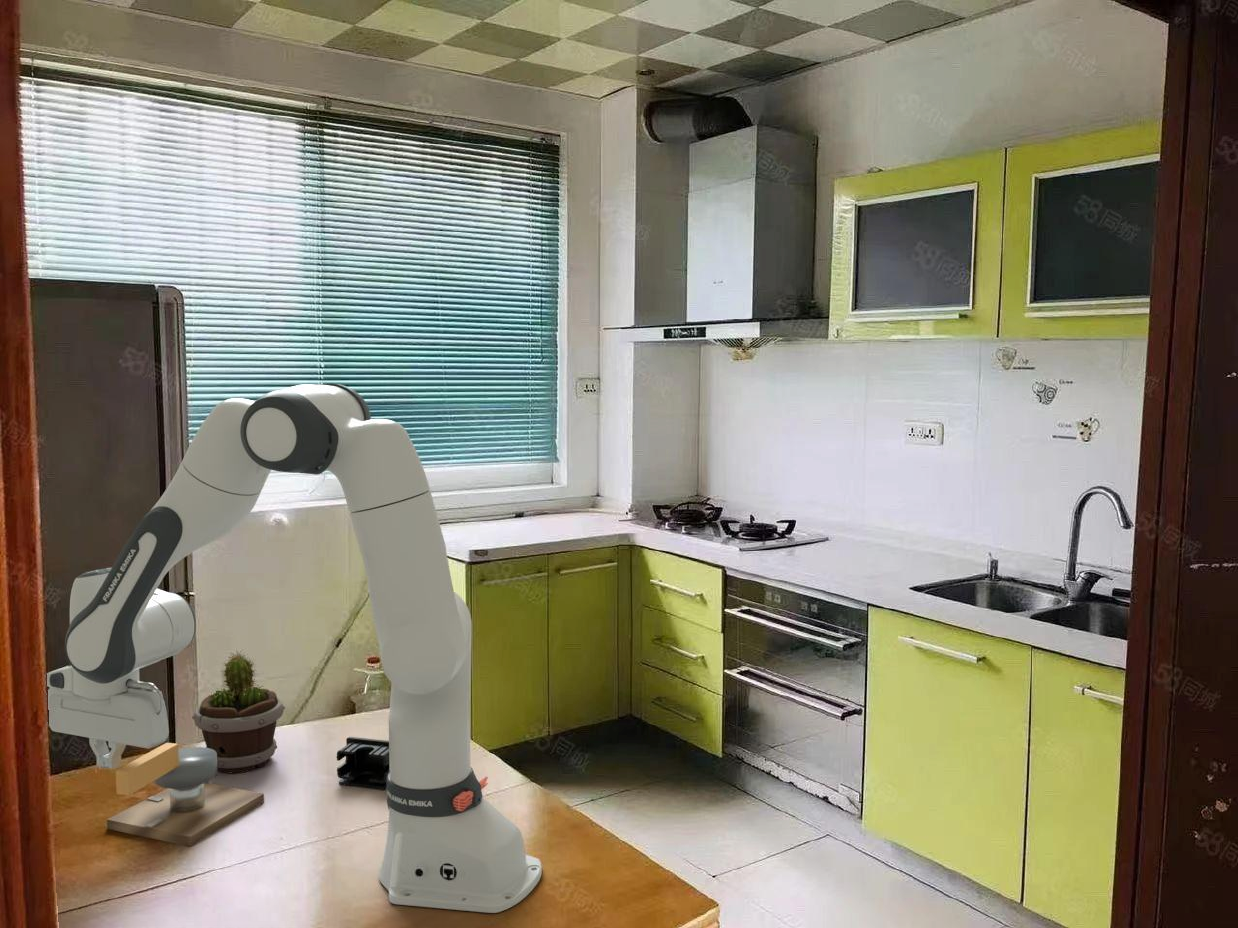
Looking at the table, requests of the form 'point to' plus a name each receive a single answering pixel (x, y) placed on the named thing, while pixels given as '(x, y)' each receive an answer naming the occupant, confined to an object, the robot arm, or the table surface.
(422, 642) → the robot arm
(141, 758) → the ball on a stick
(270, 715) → the flowerpot
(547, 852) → the table surface
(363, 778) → the black slotted holder
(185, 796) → the short grey cylinder
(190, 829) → the base plate
